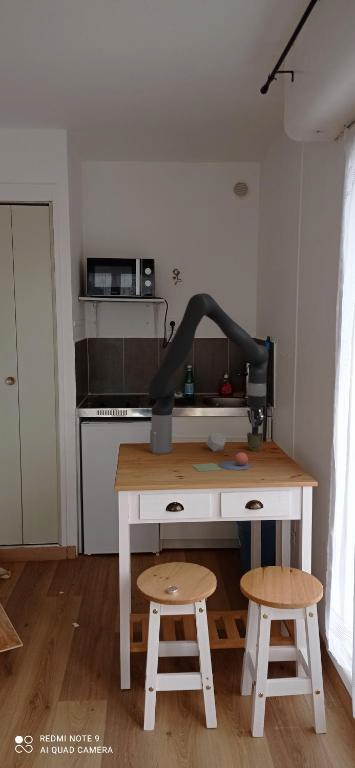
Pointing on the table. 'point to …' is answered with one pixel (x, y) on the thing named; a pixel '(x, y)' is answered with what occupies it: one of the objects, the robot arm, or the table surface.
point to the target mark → (232, 465)
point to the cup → (254, 441)
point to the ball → (241, 459)
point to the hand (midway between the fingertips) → (254, 435)
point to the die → (216, 441)
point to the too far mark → (206, 467)
